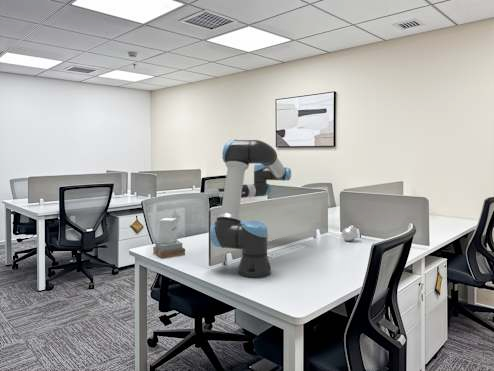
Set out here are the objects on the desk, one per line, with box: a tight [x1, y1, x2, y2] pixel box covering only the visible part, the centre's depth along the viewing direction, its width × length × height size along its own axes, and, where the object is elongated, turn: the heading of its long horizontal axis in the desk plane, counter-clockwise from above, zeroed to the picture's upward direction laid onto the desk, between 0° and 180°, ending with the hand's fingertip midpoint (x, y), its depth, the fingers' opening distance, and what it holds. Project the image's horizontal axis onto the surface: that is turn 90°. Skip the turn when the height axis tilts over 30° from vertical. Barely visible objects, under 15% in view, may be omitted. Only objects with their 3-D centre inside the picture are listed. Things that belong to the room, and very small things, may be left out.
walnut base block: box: [152, 246, 186, 260], centre depth 205 cm, size 13×13×4 cm
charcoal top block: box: [154, 240, 183, 252], centre depth 204 cm, size 11×11×3 cm
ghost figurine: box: [341, 224, 359, 242], centre depth 233 cm, size 9×10×10 cm
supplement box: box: [158, 217, 178, 244], centre depth 204 cm, size 7×7×13 cm
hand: (213, 193), depth 211 cm, fingers open, 13 cm apart
